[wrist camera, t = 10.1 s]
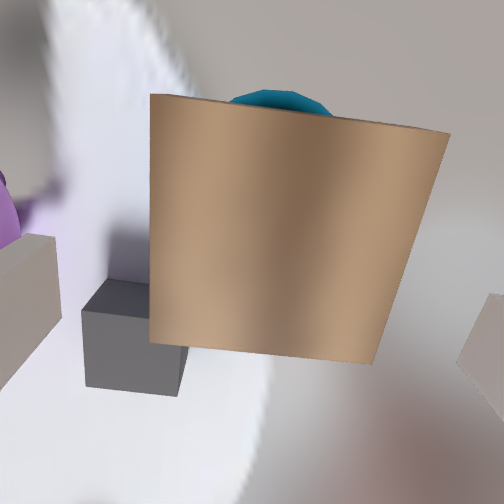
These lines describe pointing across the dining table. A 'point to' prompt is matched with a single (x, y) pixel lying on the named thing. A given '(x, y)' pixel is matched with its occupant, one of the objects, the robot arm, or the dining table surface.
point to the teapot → (7, 217)
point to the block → (281, 226)
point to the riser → (127, 343)
